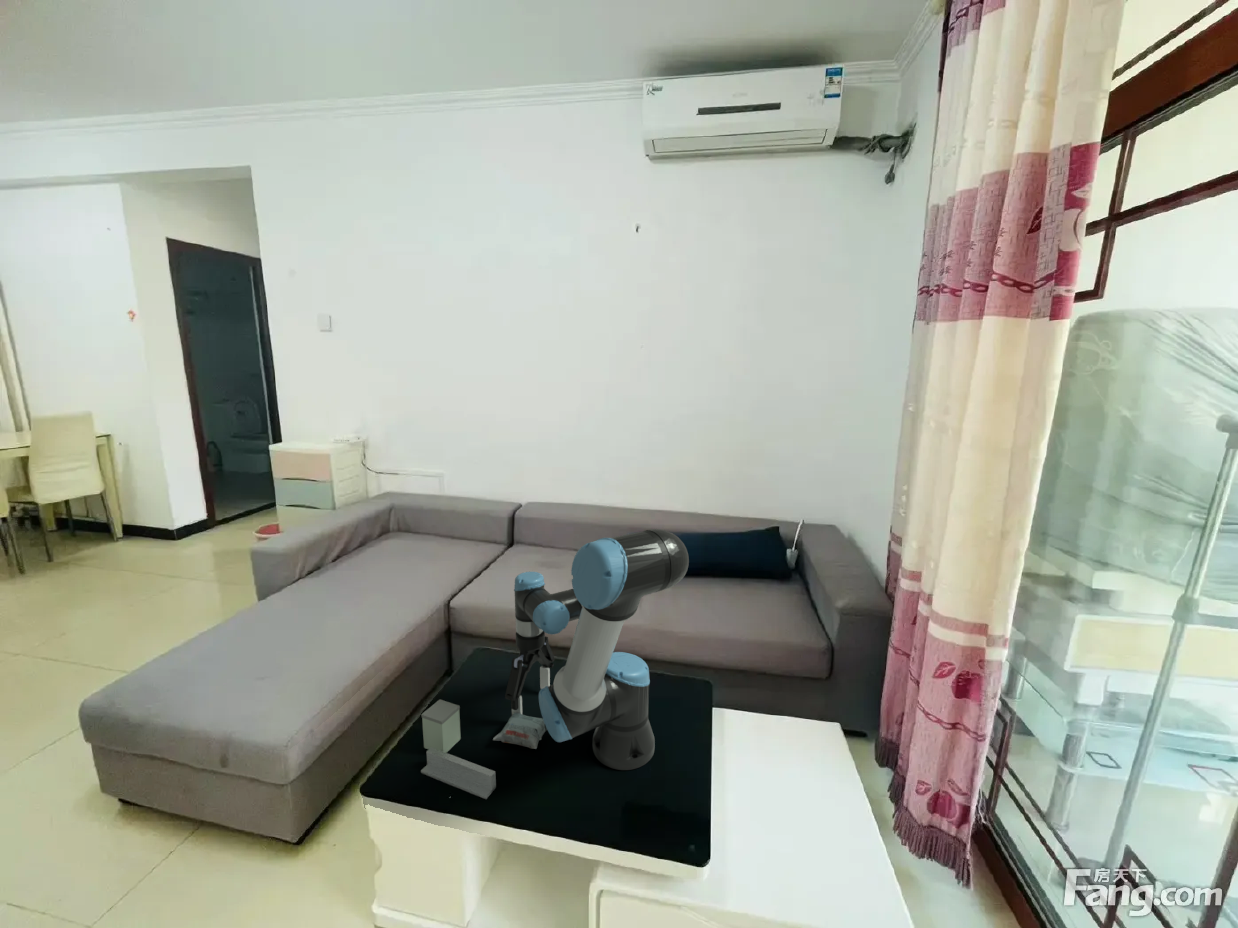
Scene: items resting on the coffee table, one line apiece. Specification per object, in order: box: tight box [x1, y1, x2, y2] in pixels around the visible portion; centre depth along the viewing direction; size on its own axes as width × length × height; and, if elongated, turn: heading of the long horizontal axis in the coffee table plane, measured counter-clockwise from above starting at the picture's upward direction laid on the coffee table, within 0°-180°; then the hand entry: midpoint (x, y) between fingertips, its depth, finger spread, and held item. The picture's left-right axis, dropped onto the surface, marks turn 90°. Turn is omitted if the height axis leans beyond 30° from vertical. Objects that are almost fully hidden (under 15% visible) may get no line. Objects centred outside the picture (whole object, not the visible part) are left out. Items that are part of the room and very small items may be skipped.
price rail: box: [420, 747, 497, 800], centre depth 114 cm, size 18×4×4 cm, turn 67°
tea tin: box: [420, 699, 462, 753], centre depth 124 cm, size 6×6×9 cm
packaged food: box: [492, 713, 548, 750], centre depth 126 cm, size 9×12×5 cm
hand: (531, 702), depth 138 cm, fingers open, 13 cm apart
